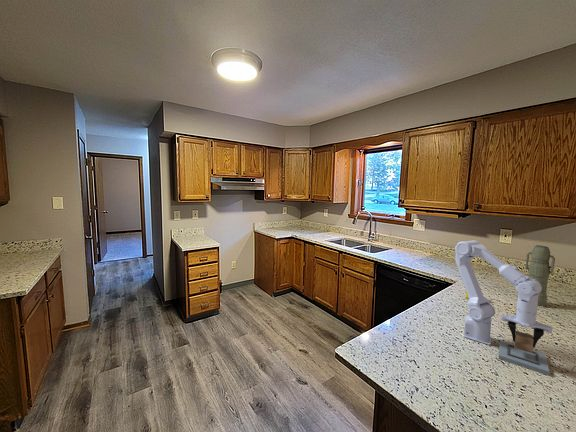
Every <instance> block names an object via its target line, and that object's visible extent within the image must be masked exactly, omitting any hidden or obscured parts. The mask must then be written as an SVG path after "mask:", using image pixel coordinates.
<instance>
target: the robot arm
mask: <svg viewBox="0 0 576 432" xmlns="http://www.w3.org/2000/svg"><path fill="white" fill-rule="evenodd" d="M454 251H455V258H454V261H455V264H456V267H457V269H458V272H459V275H460V277H461V280H462V283H463V285H464V287H465V291H466V290H467V293H468V296H469V300H467V306H468V314H469V315H465V320H464V326H463V331H464V332H463V338H466V339H469V340H473V341H475V342H479V343H482V344H485V345H489V346H491V343H492V342H491V341H492V336H491V332H492V331H491V330H492V317H494V316H495V315H496V310H495V309H496V308H494V306H493V305H492V304H491V302H490V301H489V299H488V298H487V297H485V296H484V295H483V291H482V289H481V286H480V284H479V282H478V281H479V280H478V279H477V277H476V274H475V272H474V269H473V266H472V264H471V261H472V260H473V258H474V257H478V258H480V259H482V260H484V261H485V262H487V263H488V264H489V265H491V266H493V267H494V268H495V269H496V270H498V275H500V276H501V277H502V278H503V279H505V281H507V282H508V283H510V284H511V285H512V286H513V287H515V290H516V292H517V304H516V312H515V316H512V315H505V314H501V315H500V316H501V318H500V321H502V322H507V326H508V328H509V330H510V334H511V337H512V343H515V333H516V331H517V325H519V326H522V327H527V328H532V329H533V334H532V335H533V348H534V349H535V348H536V345H537V343H538V341H539V340H540V339H541V338H542V337H543V336H544V334H545V332H547V333H549V334H552V333H553V327H552V326H551V325H549V324H548V325H547V324H543V323H541V322H538V321H537V316H538V315H537V313H538V306H537V305H538V293H540V292H541V290H542V286H541V284H540V283H539V282H538V281H537V280H535V279H530V277H529V276H528V275H526V274H524V273H523V272H521V271H520V270H519V269H518V267H517V266H516V265H512V264H505V262H503V261H502V260H501V259H499V258H498V257H497V256H496V255H495V254H494V253H493V252H491V251H490V250H489V249H488V248H487V247H486V246H485V245H484V244H482V243H480V242H479V241H478V240H474V239H472V240H466V241H465V240H464V241H459V242H457V244H456V245H455V247H454ZM535 294H536V295H535Z"/></svg>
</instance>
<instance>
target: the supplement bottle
mask: <svg viewBox="0 0 576 432" xmlns="http://www.w3.org/2000/svg"><path fill="white" fill-rule="evenodd" d="M465 299H466V300H467V299H468V300H467V301H469V296H468V293H467V290H466V289H465Z"/></svg>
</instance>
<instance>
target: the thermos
mask: <svg viewBox="0 0 576 432" xmlns="http://www.w3.org/2000/svg"><path fill="white" fill-rule="evenodd" d="M530 256H531V257H530ZM530 258H531V261H530V260H529V259H530ZM550 259H551V265H550ZM529 261H530V262H529ZM555 261H556V257H555V256H554V255H551V250H550V248H549V246H548V245H547V246H546V245H540V244H539V245H534V246H533V248H532V250H531V251H529V252H528V253H527V254H526V261H525V269H526V270H528V275H529V277H530V279H535V280H537V281H538V282H539V283H540V284H541V286H542V290H541V292H540V293H538V306H546V307H547V302H548V294H547V290H548V281H549V278H550V274H553V273H554V268H555ZM529 263H530V264H529ZM535 295H536V294H535ZM538 306H537V307H538Z"/></svg>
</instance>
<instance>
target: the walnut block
mask: <svg viewBox="0 0 576 432" xmlns="http://www.w3.org/2000/svg"><path fill="white" fill-rule="evenodd" d="M514 344H515V348H517V349H520V350H523V351H527V352H530V353H532V351H533V350H534V349H533V348H534V347H533V334H529V333H526V332H522V331H518V330H516V332H515V342H514Z"/></svg>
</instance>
